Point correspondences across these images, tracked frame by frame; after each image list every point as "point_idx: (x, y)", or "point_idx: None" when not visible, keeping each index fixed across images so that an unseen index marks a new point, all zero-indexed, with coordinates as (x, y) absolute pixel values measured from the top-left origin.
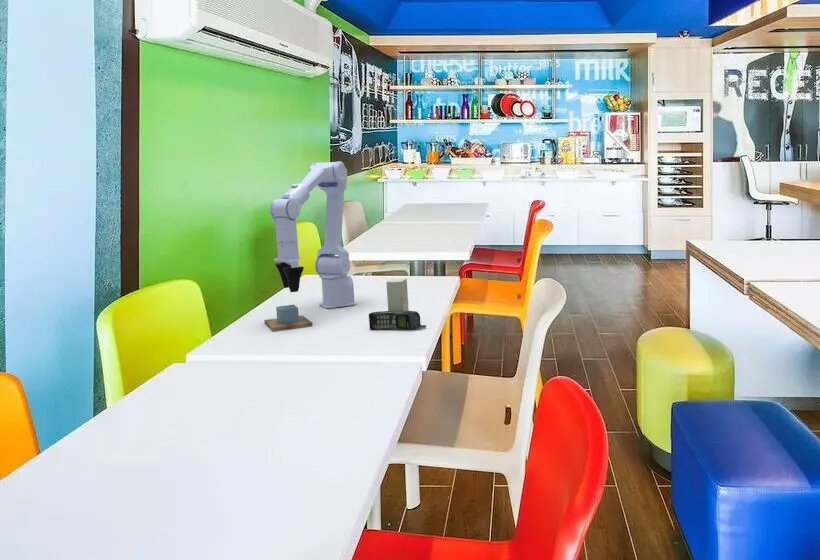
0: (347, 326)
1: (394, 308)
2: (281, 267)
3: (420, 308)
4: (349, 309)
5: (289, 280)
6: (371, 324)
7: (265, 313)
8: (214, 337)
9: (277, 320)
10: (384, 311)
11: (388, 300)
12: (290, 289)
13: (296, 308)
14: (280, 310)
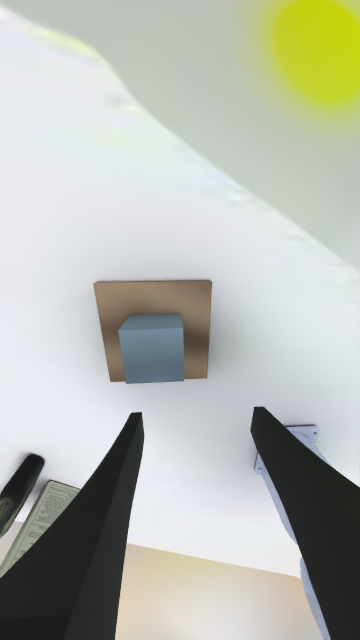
0: (78, 429)
1: (19, 533)
2: (355, 561)
3: (161, 528)
4: (228, 457)
5: (93, 477)
6: (19, 467)
7: (331, 306)
8: (94, 58)
9: (177, 313)
10: (3, 517)
11: (8, 556)
12: (125, 423)
13: (125, 378)
14: (118, 330)
